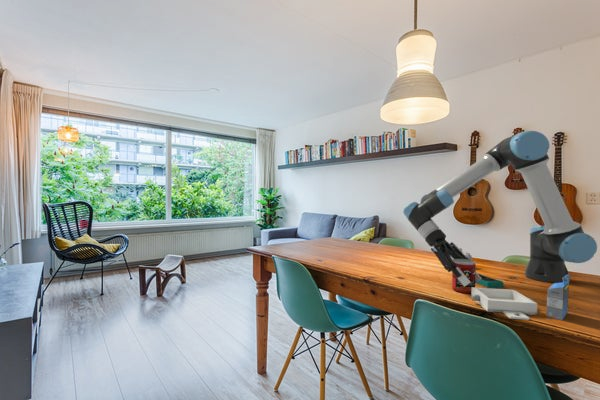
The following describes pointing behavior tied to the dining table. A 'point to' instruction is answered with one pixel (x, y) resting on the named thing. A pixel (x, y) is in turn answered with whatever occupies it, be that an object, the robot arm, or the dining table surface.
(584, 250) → the robot arm
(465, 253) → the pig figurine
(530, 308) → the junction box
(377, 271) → the dining table surface
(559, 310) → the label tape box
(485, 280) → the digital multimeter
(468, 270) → the canned food
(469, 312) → the dining table surface
